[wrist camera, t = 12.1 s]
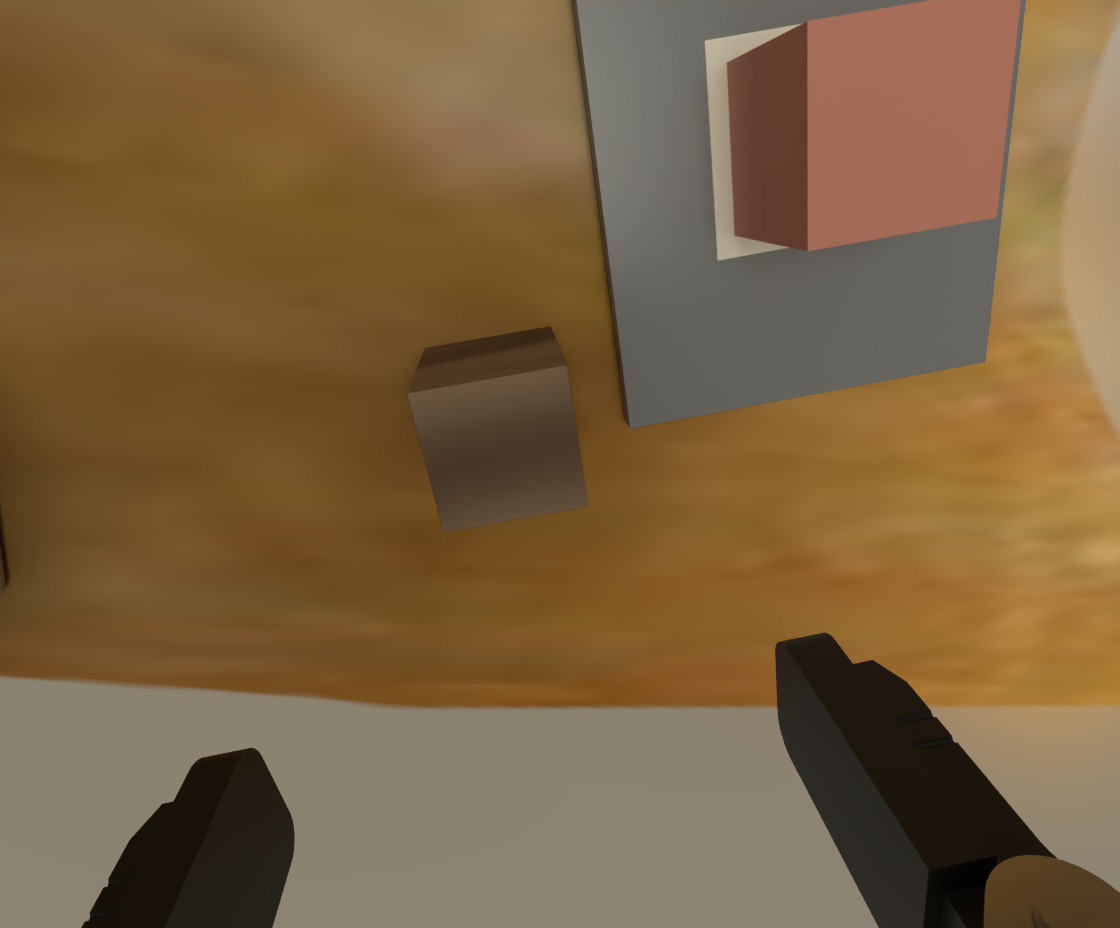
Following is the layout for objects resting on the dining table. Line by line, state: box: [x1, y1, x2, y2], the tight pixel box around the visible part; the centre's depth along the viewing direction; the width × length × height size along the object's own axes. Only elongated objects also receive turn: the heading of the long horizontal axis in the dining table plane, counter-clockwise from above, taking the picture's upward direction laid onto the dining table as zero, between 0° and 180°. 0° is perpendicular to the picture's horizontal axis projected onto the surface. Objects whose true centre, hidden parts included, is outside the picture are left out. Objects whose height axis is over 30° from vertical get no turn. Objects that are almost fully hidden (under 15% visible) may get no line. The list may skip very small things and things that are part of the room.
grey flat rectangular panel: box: [572, 0, 1026, 429], centre depth 23 cm, size 19×15×1 cm
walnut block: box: [407, 327, 588, 533], centre depth 24 cm, size 5×5×6 cm
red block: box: [727, 0, 1021, 251], centre depth 20 cm, size 6×6×6 cm
